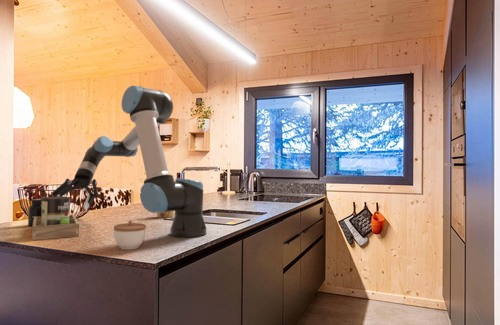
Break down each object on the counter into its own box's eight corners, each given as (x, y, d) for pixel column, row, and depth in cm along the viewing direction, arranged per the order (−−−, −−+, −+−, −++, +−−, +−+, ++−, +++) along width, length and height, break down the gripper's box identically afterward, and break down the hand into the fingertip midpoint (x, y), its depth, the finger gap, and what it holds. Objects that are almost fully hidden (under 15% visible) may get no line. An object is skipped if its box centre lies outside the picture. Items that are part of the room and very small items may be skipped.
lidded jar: (132, 252, 120) (132, 224, 120) (106, 249, 123) (107, 222, 123) (151, 245, 130) (152, 219, 130) (127, 243, 133) (127, 217, 133)
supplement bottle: (32, 227, 161) (33, 200, 161) (25, 225, 164) (25, 199, 165) (48, 225, 167) (48, 199, 167) (40, 223, 170) (40, 198, 170)
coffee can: (75, 230, 150) (75, 196, 150) (57, 235, 140) (57, 199, 140) (53, 229, 152) (54, 195, 152) (34, 233, 142) (35, 198, 142)
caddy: (78, 236, 144) (79, 223, 144) (32, 239, 136) (32, 226, 136) (74, 225, 166) (74, 215, 166) (33, 228, 158) (34, 217, 158)
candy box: (173, 216, 201) (173, 188, 201) (173, 217, 197) (174, 189, 197) (157, 216, 199) (157, 188, 199) (156, 217, 195) (157, 189, 195)
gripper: (113, 178, 174) (100, 214, 159) (62, 178, 174) (44, 213, 159) (109, 168, 169) (95, 203, 154) (56, 167, 169) (37, 202, 154)
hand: (69, 208), depth 157 cm, fingers open, 13 cm apart
